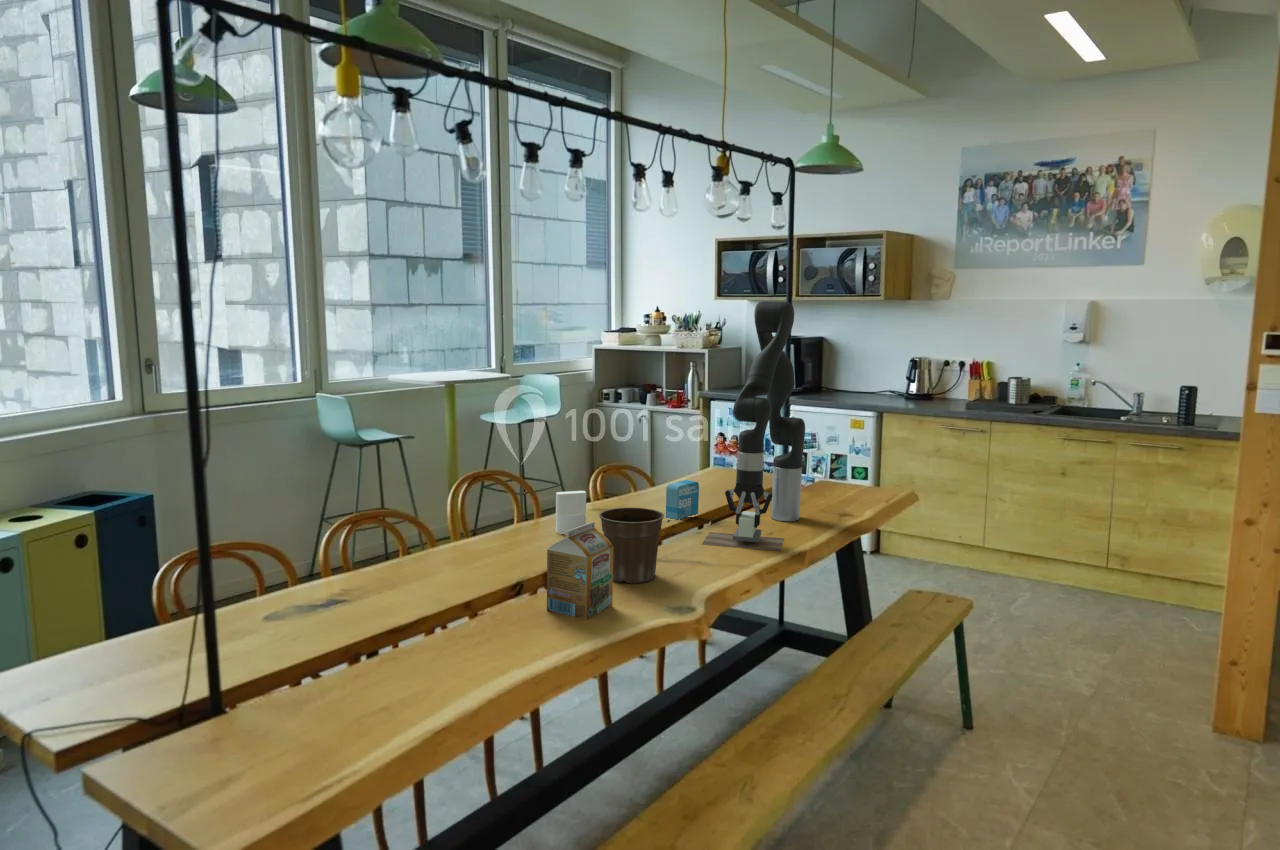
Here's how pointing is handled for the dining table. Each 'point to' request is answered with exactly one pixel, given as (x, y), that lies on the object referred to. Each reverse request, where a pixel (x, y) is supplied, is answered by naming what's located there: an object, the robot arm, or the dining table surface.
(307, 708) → the dining table surface
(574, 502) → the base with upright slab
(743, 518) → the sanding block
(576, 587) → the milk carton
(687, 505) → the data package
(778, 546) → the walnut board
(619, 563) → the plant pot
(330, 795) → the dining table surface
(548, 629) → the dining table surface
